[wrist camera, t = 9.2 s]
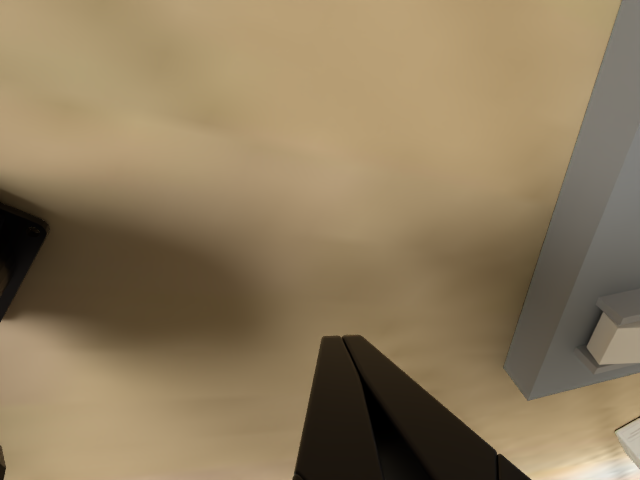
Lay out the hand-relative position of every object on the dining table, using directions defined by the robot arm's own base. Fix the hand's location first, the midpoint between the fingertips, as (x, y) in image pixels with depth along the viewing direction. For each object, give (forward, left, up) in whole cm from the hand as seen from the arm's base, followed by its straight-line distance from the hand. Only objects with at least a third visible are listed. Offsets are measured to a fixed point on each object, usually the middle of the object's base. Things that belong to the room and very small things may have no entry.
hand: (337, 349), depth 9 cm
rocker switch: (+4, -24, -8) cm, 26 cm away
